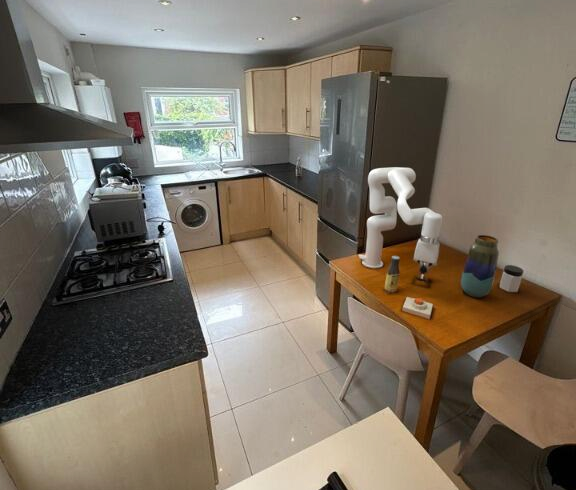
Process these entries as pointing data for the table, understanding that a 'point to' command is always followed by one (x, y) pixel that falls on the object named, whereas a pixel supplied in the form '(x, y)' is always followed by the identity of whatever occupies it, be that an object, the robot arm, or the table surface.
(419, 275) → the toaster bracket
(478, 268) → the vase
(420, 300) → the button
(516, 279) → the jar
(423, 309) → the block
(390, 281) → the sauce bottle
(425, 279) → the toaster lever
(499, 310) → the table surface
